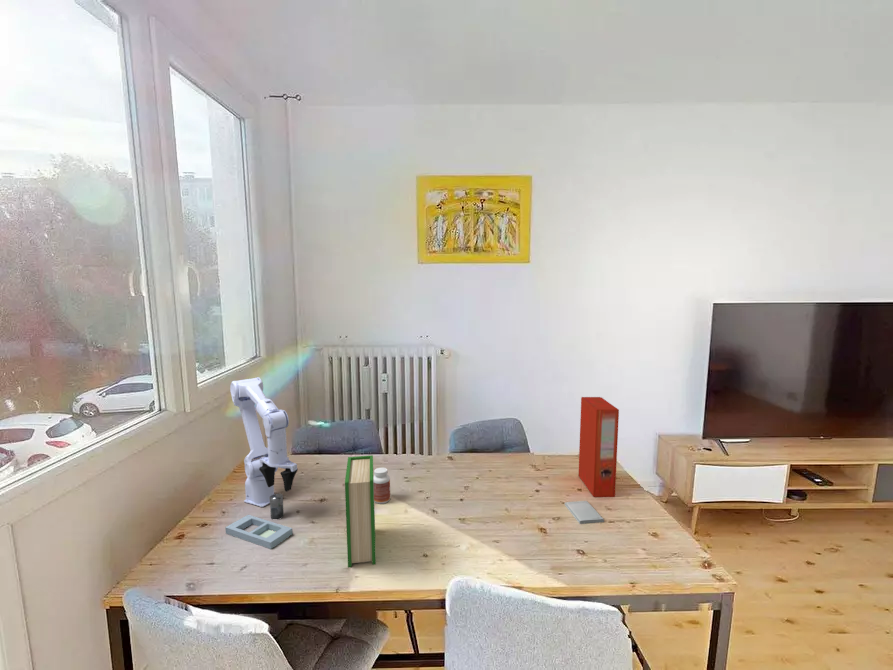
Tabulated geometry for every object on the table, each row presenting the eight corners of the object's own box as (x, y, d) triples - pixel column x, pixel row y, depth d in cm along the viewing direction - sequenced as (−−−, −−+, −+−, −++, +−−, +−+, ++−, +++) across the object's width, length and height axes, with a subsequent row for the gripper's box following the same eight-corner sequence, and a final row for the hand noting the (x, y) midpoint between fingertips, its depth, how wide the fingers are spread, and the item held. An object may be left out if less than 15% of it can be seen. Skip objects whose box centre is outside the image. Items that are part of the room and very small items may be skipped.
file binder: (598, 476, 175) (601, 396, 171) (615, 497, 157) (618, 409, 154) (578, 476, 174) (580, 397, 171) (593, 497, 157) (595, 409, 154)
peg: (268, 518, 145) (266, 497, 145) (277, 512, 149) (276, 492, 148) (277, 520, 144) (275, 500, 143) (286, 515, 147) (285, 494, 146)
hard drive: (604, 519, 141) (587, 500, 153) (579, 520, 140) (564, 501, 152) (604, 523, 141) (587, 504, 153) (579, 525, 140) (564, 506, 152)
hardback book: (375, 564, 121) (373, 480, 118) (347, 567, 120) (344, 482, 117) (375, 529, 138) (372, 455, 135) (350, 531, 137) (348, 457, 134)
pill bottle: (393, 501, 156) (392, 471, 155) (377, 506, 153) (376, 475, 151) (385, 494, 161) (385, 465, 160) (370, 498, 158) (369, 469, 156)
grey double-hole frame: (225, 533, 136) (225, 527, 136) (248, 520, 144) (248, 514, 144) (270, 549, 128) (270, 542, 128) (292, 534, 136) (292, 528, 135)
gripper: (303, 447, 145) (305, 487, 146) (270, 441, 151) (272, 479, 153) (287, 455, 138) (289, 496, 140) (253, 448, 145) (256, 487, 146)
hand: (279, 488), depth 146 cm, fingers open, 7 cm apart
